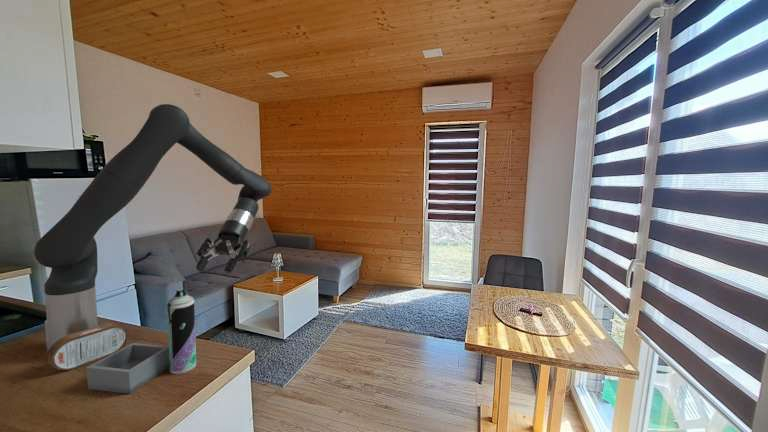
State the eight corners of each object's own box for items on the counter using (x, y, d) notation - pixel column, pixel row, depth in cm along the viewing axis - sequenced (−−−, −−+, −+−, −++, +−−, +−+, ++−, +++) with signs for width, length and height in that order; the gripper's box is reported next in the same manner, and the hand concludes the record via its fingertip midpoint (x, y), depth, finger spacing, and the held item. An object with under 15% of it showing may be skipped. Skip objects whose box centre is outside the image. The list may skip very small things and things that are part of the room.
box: (87, 388, 65) (86, 367, 65) (133, 361, 76) (132, 342, 75) (130, 393, 64) (129, 372, 64) (171, 365, 74) (170, 346, 74)
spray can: (183, 375, 71) (180, 295, 69) (164, 372, 72) (160, 292, 70) (201, 362, 76) (199, 287, 74) (183, 359, 77) (180, 285, 75)
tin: (125, 345, 83) (123, 317, 82) (130, 348, 82) (129, 319, 81) (46, 374, 70) (44, 340, 69) (51, 379, 68) (48, 344, 68)
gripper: (210, 218, 92) (182, 263, 81) (253, 219, 90) (230, 265, 80) (222, 232, 97) (197, 276, 87) (262, 234, 96) (242, 279, 85)
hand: (213, 271), depth 83 cm, fingers open, 8 cm apart
